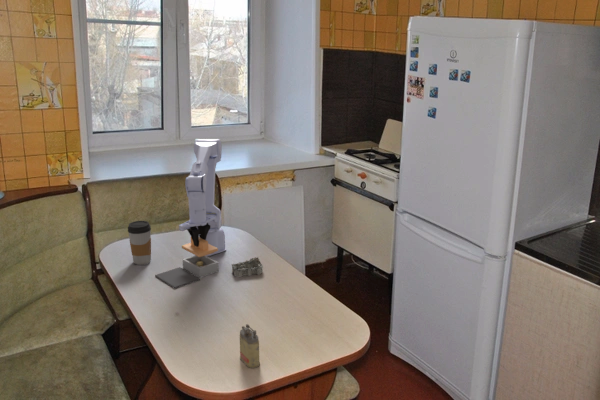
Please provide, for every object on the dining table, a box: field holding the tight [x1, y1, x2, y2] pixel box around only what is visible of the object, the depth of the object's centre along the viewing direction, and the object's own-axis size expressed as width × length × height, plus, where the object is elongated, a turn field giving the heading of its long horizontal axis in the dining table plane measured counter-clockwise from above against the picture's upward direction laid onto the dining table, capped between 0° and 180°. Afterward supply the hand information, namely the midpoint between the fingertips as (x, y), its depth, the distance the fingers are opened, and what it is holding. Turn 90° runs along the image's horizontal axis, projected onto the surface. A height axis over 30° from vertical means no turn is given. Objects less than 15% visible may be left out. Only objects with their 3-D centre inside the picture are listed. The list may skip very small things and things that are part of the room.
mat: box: [154, 266, 201, 289], centre depth 200 cm, size 10×13×1 cm
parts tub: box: [182, 255, 220, 279], centre depth 207 cm, size 8×11×4 cm
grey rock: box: [230, 256, 264, 278], centre depth 205 cm, size 11×8×4 cm
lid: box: [181, 237, 218, 257], centre depth 204 cm, size 8×11×5 cm
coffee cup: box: [127, 220, 152, 266], centre depth 212 cm, size 8×8×15 cm
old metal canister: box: [239, 323, 261, 369], centre depth 150 cm, size 7×4×10 cm, turn 34°
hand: (199, 244), depth 204 cm, fingers closed on lid
